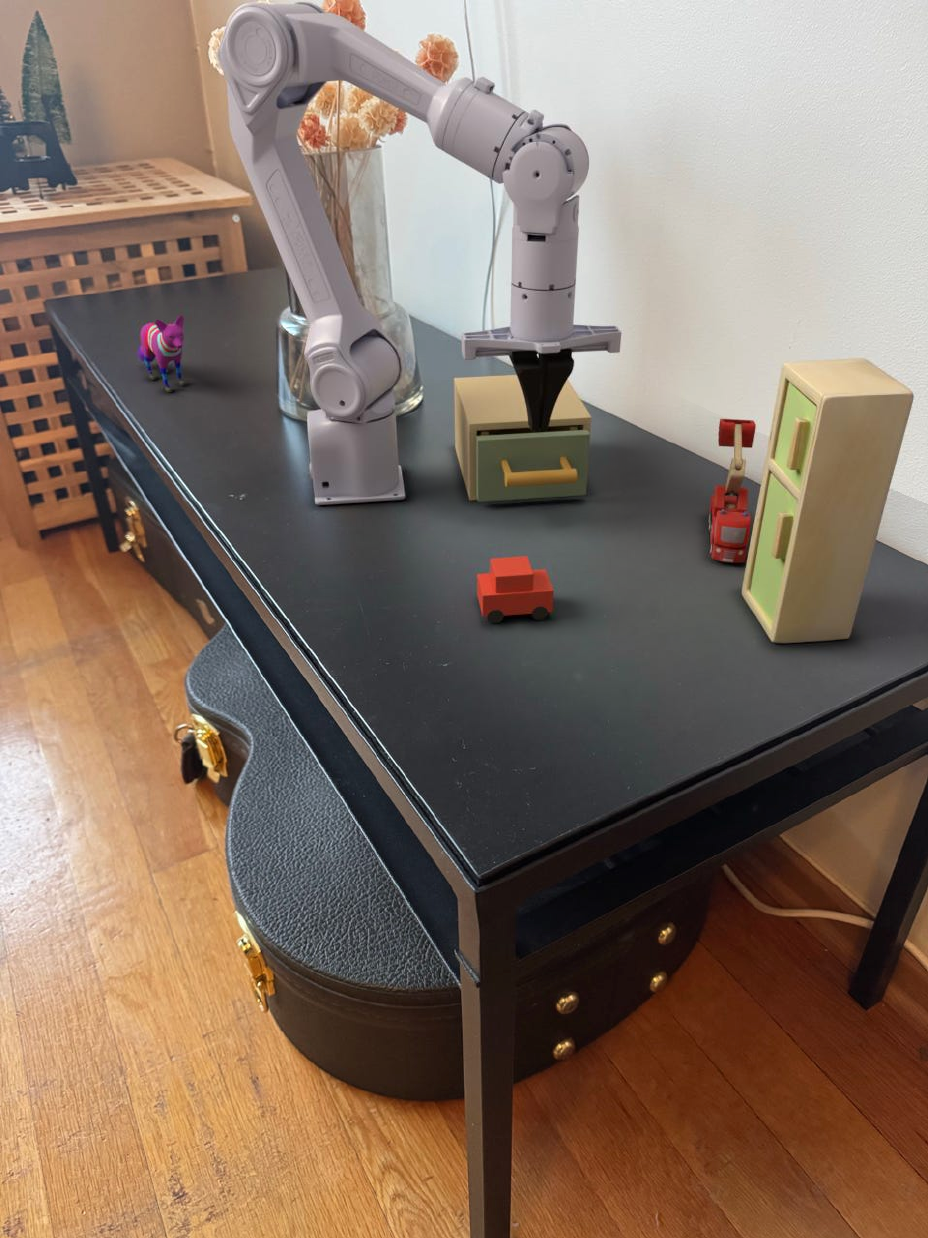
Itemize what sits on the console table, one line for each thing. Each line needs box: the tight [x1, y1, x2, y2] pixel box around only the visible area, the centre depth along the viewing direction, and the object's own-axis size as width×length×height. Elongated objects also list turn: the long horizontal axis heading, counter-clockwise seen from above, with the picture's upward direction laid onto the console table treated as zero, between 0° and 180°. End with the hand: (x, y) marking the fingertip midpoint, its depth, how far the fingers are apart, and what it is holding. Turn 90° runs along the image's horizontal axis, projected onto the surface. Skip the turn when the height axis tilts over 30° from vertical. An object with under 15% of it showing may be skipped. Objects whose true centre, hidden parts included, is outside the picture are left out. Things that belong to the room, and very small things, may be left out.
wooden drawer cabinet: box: [453, 374, 592, 501], centre depth 99 cm, size 14×13×9 cm
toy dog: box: [138, 314, 187, 393], centre depth 124 cm, size 4×18×10 cm, turn 36°
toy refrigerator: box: [741, 357, 915, 644], centre depth 71 cm, size 8×7×21 cm
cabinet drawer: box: [476, 425, 591, 503], centre depth 95 cm, size 17×11×7 cm, turn 7°
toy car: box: [476, 555, 555, 624], centre depth 77 cm, size 6×4×4 cm, turn 97°
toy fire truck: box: [708, 418, 757, 564], centre depth 87 cm, size 3×14×10 cm, turn 169°
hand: (537, 427), depth 88 cm, fingers closed
